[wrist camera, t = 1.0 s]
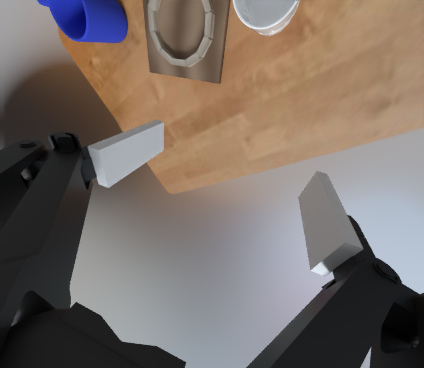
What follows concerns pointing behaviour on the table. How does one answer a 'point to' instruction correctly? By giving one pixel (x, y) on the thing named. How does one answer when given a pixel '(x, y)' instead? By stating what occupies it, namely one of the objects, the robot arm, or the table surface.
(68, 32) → the mug
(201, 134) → the table surface
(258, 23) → the white cup
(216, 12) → the brown flat ringed piece
